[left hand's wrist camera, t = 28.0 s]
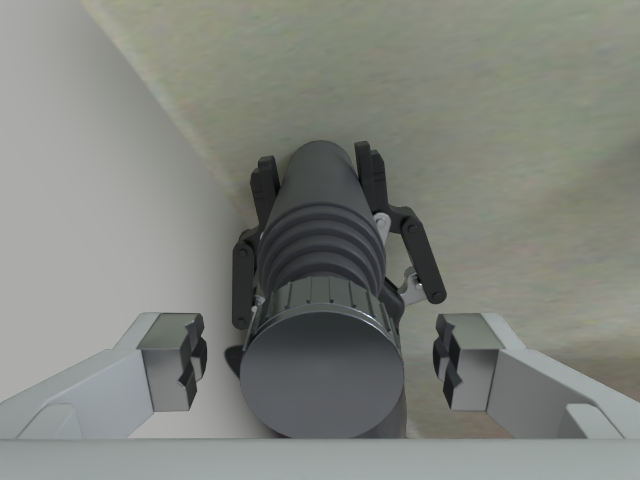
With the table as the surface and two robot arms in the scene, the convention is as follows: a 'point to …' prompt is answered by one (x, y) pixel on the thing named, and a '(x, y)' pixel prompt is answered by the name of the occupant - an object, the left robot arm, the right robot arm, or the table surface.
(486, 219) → the table surface
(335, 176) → the bottle
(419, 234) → the right robot arm
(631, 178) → the table surface
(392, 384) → the cap
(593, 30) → the table surface
